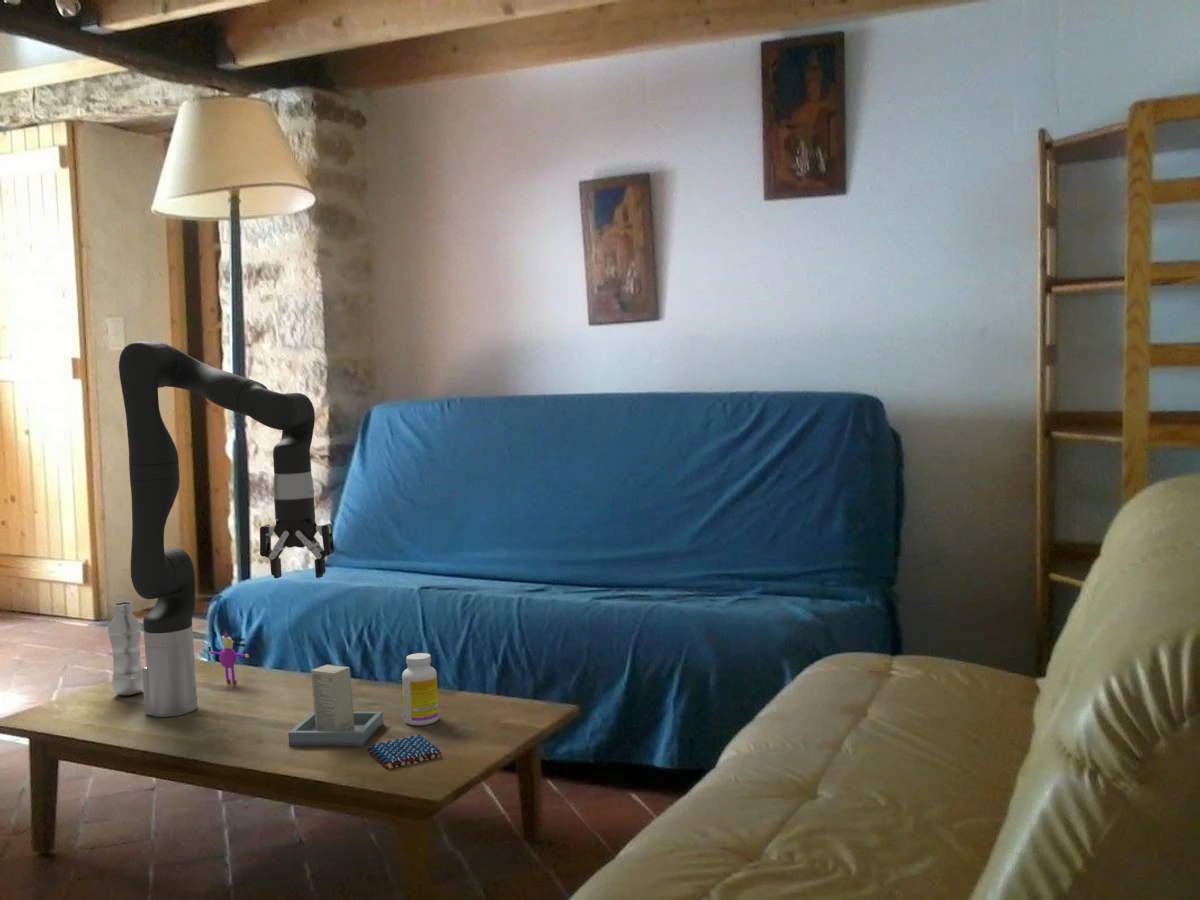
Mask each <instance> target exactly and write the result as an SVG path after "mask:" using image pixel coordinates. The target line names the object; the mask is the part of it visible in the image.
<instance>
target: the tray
mask: <svg viewBox="0 0 1200 900" xmlns="http://www.w3.org/2000/svg"><path fill="white" fill-rule="evenodd" d="M353 715H354V727H355V729H354V730H352V731H316V724H315V712H314V711H311V713H309V714H308V715H307V716H306V717H305V718H303V719H302V720H301V721H300V722H299V723H297V725H296V726H294V727H293V728H292V729H290V730H289V731H288V732H287V734H288V746H289V747H303V746H304V747H364V746H365V744H367V743H368V742H369V740H370V739H372V737H373V736H374V735H376V733H377V732H378V731H379V730H380V729H381V728H382V726H384V725H385V724H384V712H383V711H353Z"/></svg>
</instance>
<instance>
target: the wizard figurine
mask: <svg viewBox="0 0 1200 900" xmlns="http://www.w3.org/2000/svg"><path fill="white" fill-rule="evenodd" d="M245 639H246V638H245V637H244V638H241V637H235V638H234V637H232V638H231V637H230V636H229V634H228V632H227V630H224V634H223V635H222V636H221V641H222V645H223V647H224V648H223V649H222V650H221V651H212V649H211V647H212V646H211V645H208V654H209V655H216V656H217V655H218V656H219V657H218V658H219V662H220V665H221V666H222V667H223V668H224V669H225V670H224V671H225V678H226V683H231V682H232V684H236V683H237V682H238V680H236V678H235V677H236V676H235V667H234V666H235V665H236V663H237V660H238V657H243V658H246V659H249V654H248V653H245V654H244V653H237V652H236V651H235V650H234V649H233V647H241V648H242V647H243V648H246V646H247V645H246V643H240V642H245V641H246V640H245ZM236 641H237V642H236ZM229 669H231V671H230V673H231V678H229V677H230V675H229V674H230V673H229Z"/></svg>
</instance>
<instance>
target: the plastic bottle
mask: <svg viewBox="0 0 1200 900" xmlns="http://www.w3.org/2000/svg"><path fill="white" fill-rule="evenodd" d="M133 607H134V606H133V602H132V601H122V602H121V601H120V602H116V603H114V604H113V614H114V616H113V617H112V619H111V621H110V622H109V624H108V627H107V632H108V637H109V641H110V645H111V652H112V658H113V659H112V660H113V662H112V663H113V669H112V673H113V674H112V677H111V678H112V680H111V687H112V690H113V692H114V694H116V695H118V696H131V695H135V694H139V693H141V692H143V677H142V669H143V665H142V659H141V658H142V657H141V651H140V650H141V631H142V625H141V623H140V620H138V618H137V617H136V616H135V615H134V614H133V612H134V608H133Z"/></svg>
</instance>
